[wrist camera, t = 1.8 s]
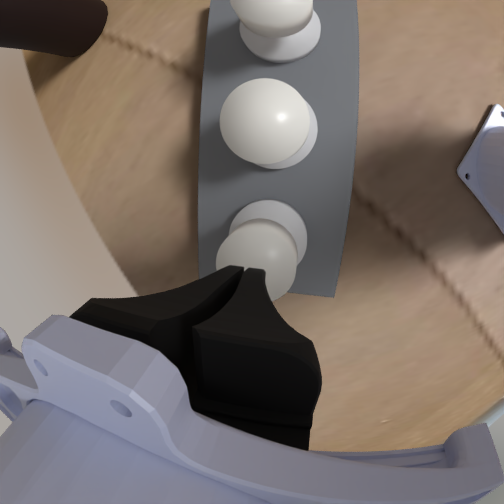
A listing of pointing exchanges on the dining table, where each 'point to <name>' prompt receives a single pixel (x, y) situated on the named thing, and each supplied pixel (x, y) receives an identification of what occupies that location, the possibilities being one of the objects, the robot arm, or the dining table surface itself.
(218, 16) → the knob panel
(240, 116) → the knob
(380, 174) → the dining table surface
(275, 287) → the knob
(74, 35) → the bottle
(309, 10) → the knob
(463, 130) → the dining table surface
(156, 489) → the robot arm
